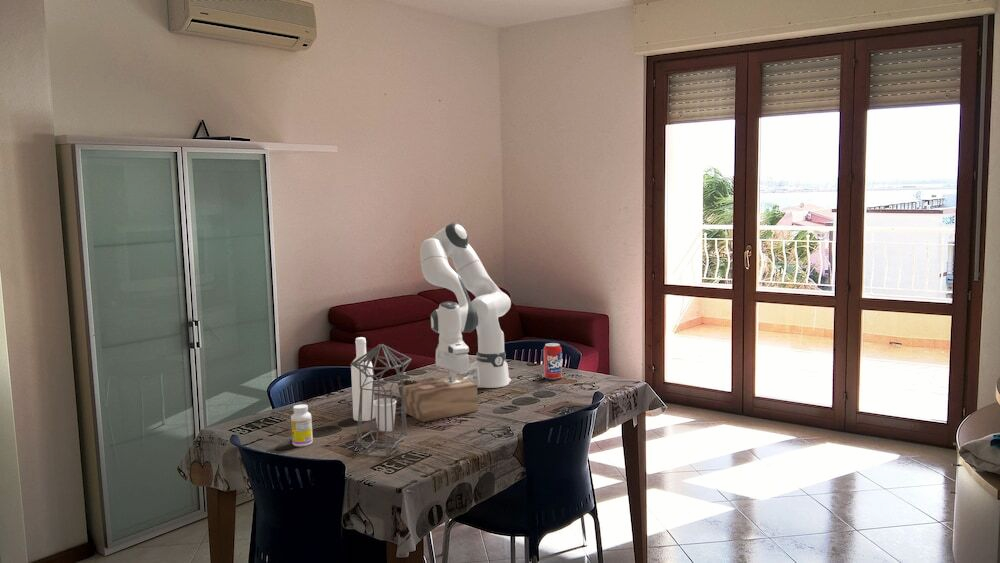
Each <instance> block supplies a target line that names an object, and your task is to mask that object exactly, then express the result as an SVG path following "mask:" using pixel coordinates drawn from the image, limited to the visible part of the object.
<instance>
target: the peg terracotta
mask: <svg viewBox="0 0 1000 563" xmlns="http://www.w3.org/2000/svg"><path fill="white" fill-rule="evenodd" d="M418 388H419V389H421V390H428V389H434V388H436V387H434V386H432V385H424V386H418Z"/></svg>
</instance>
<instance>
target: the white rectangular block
mask: <svg viewBox="0 0 1000 563" xmlns="http://www.w3.org/2000/svg"><path fill="white" fill-rule="evenodd" d="M444 384H447V385H449V386H451V385H457V384H462V382H461V381H459V380H456V381H455V382H451V381H449V380H448V381H444Z"/></svg>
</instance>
